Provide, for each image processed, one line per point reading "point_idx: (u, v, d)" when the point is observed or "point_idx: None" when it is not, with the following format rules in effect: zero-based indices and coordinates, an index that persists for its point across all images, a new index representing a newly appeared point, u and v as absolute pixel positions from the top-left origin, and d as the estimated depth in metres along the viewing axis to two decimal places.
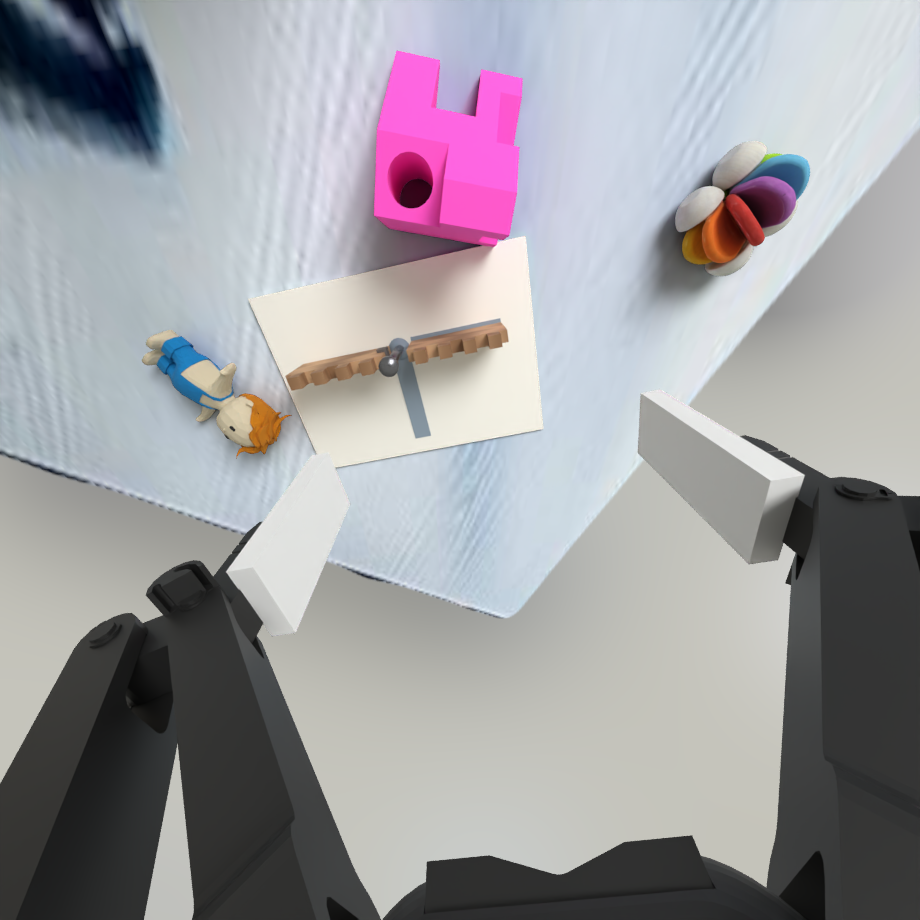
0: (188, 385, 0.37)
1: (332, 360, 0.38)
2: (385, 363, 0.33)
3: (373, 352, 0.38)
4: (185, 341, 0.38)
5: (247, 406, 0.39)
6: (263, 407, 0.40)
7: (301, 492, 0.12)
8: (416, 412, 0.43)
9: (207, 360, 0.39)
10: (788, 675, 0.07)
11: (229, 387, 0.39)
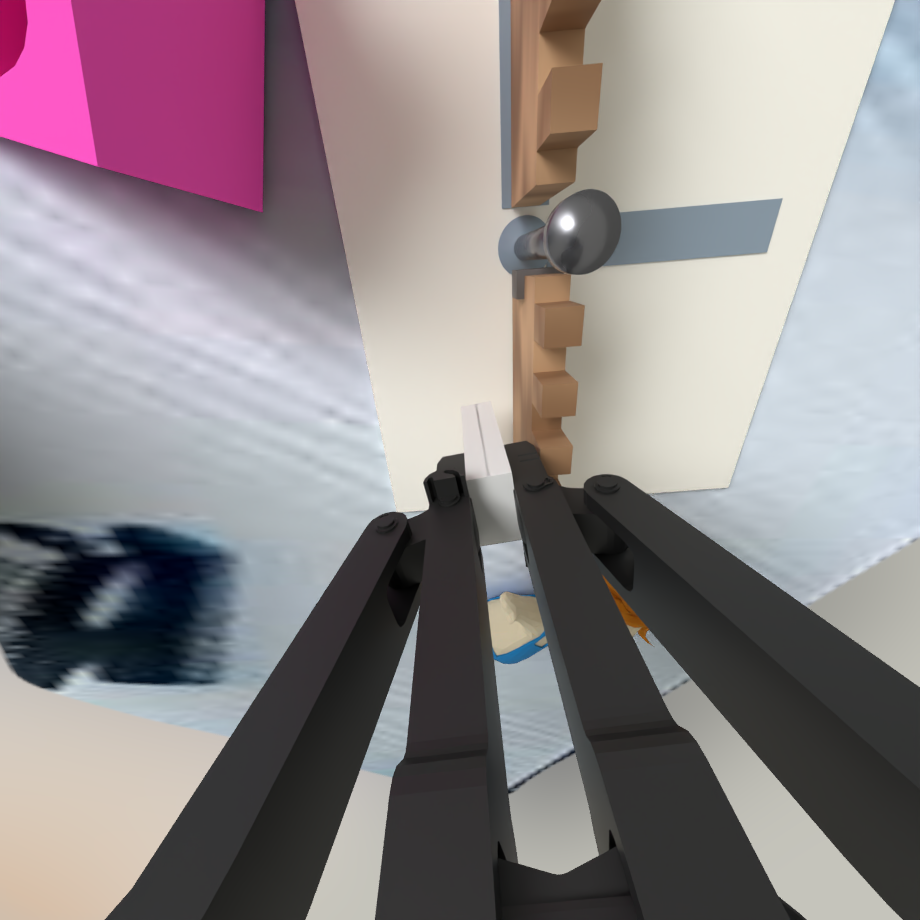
0: (515, 655, 0.24)
1: (518, 411, 0.18)
2: (568, 242, 0.09)
3: (519, 311, 0.15)
4: None
5: None
6: None
7: (480, 430, 0.14)
8: (696, 231, 0.16)
9: None
10: (550, 650, 0.08)
11: (534, 605, 0.23)
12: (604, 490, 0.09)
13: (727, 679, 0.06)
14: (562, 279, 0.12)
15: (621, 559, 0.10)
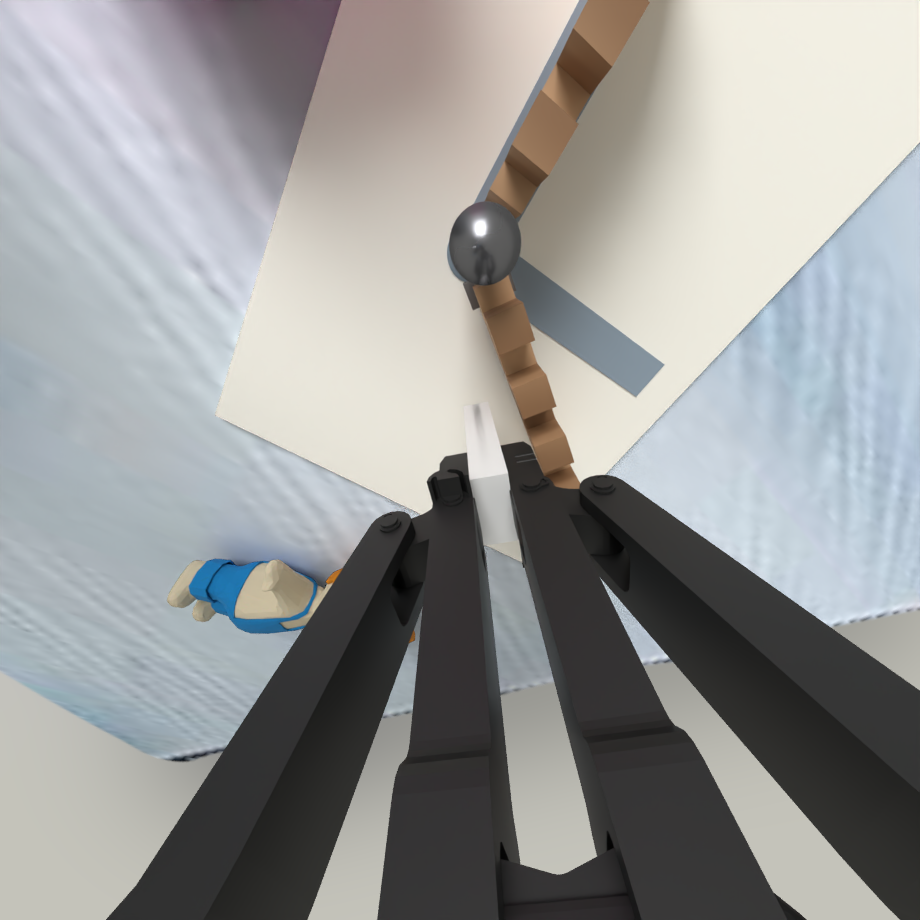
0: (253, 624, 0.22)
1: None
2: (468, 242, 0.09)
3: None
4: (214, 564, 0.23)
5: None
6: None
7: (483, 429, 0.14)
8: (602, 345, 0.18)
9: (257, 567, 0.24)
10: (547, 651, 0.08)
11: (303, 586, 0.23)
12: (600, 491, 0.09)
13: (723, 679, 0.06)
14: (501, 281, 0.12)
15: (617, 560, 0.10)
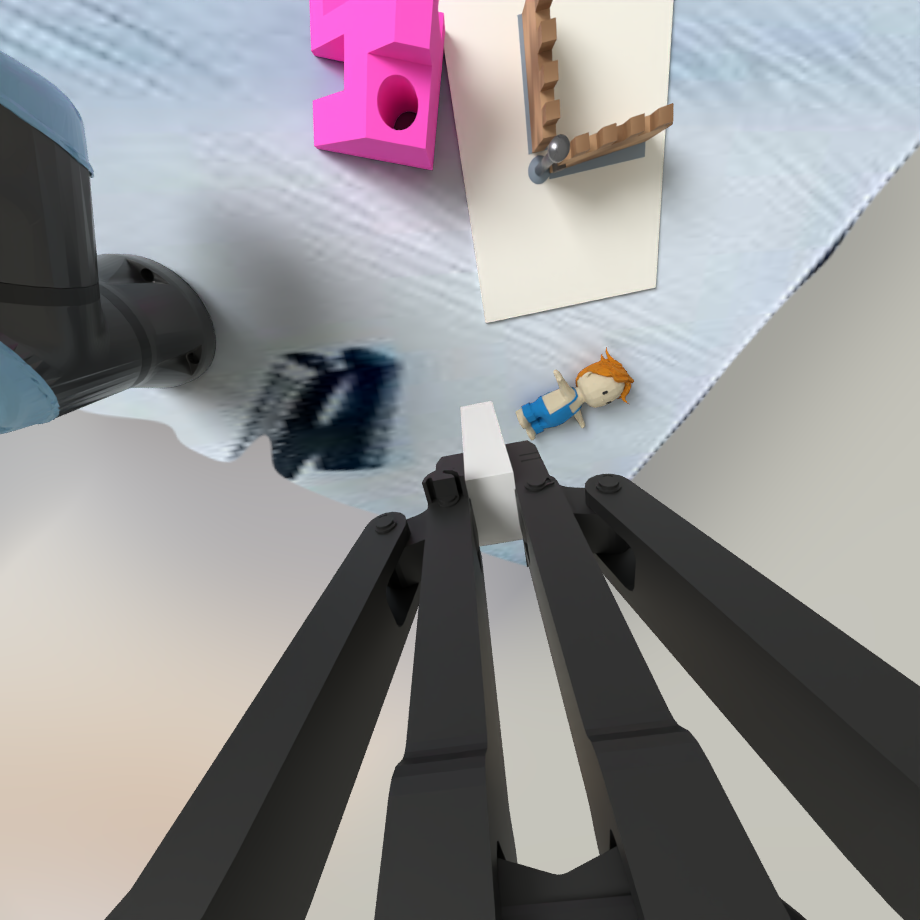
0: (559, 412, 0.47)
1: (613, 149, 0.36)
2: (555, 151, 0.31)
3: (568, 164, 0.36)
4: None
5: (589, 376, 0.45)
6: (593, 366, 0.46)
7: (479, 430, 0.14)
8: (612, 152, 0.37)
9: (542, 396, 0.49)
10: (551, 650, 0.08)
11: (568, 386, 0.47)
12: (606, 490, 0.09)
13: (728, 679, 0.06)
14: None
15: (622, 559, 0.10)
